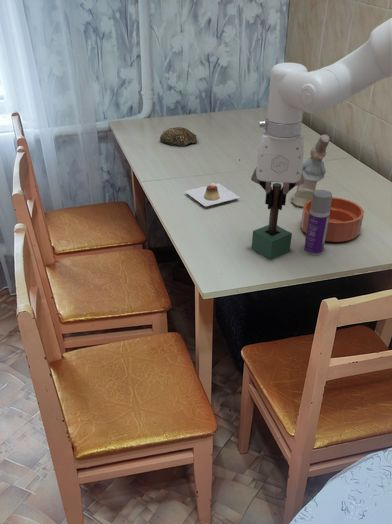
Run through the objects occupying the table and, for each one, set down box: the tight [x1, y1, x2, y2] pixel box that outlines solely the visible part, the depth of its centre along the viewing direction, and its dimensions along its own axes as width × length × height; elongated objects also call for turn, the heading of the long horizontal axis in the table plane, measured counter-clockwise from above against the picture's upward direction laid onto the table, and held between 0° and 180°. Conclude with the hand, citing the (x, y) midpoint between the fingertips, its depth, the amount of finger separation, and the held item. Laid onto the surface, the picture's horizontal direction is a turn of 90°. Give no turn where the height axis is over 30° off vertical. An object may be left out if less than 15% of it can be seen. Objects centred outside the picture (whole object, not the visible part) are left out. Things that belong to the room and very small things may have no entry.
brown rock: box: [159, 126, 198, 147], centre depth 196 cm, size 13×12×5 cm
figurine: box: [291, 134, 331, 208], centre depth 152 cm, size 9×8×20 cm
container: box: [303, 189, 333, 256], centre depth 131 cm, size 5×5×15 cm
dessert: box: [183, 181, 241, 208], centre depth 158 cm, size 12×12×5 cm
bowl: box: [300, 196, 365, 243], centre depth 143 cm, size 15×15×6 cm
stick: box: [268, 182, 283, 236], centre depth 131 cm, size 2×2×16 cm
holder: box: [251, 224, 293, 260], centre depth 135 cm, size 7×7×5 cm
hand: (274, 206), depth 129 cm, fingers closed on stick, 2 cm apart
